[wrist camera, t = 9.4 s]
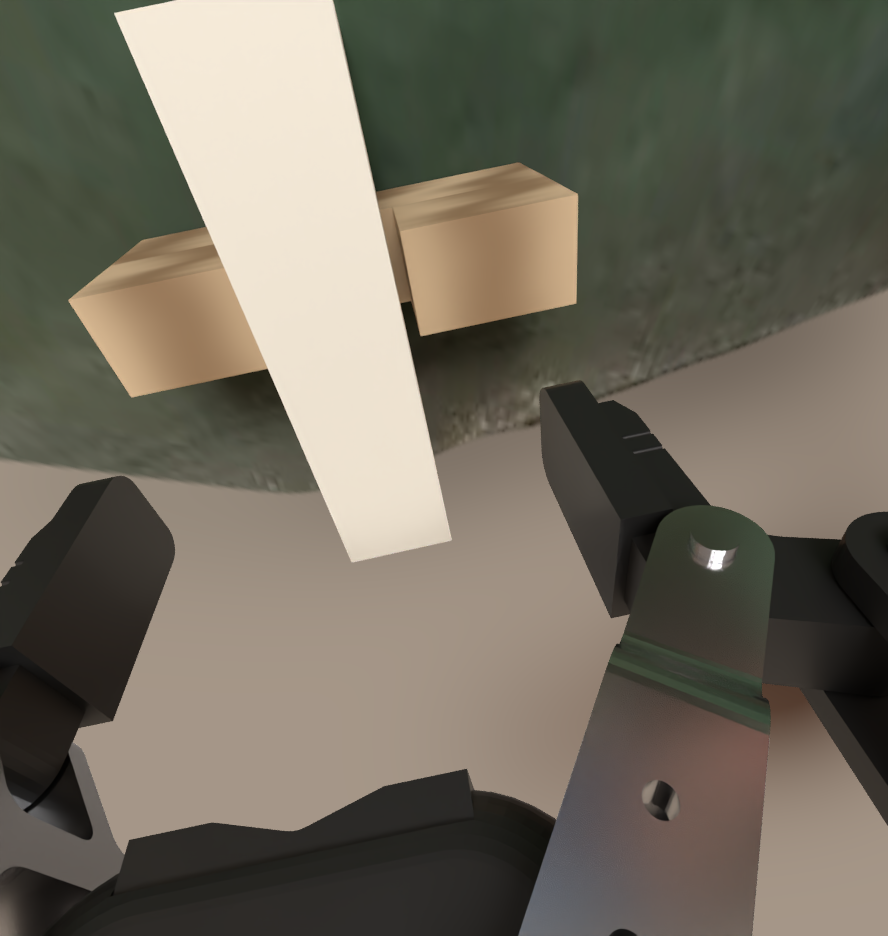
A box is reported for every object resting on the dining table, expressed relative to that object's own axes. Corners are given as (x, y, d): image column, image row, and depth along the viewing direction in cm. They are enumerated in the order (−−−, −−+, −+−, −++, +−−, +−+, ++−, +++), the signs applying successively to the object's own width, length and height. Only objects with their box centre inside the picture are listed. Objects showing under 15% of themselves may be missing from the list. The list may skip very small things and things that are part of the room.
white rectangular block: (240, 44, 17) (113, 13, 8) (338, 24, 17) (326, -31, 8) (351, 388, 26) (351, 562, 17) (416, 374, 26) (451, 540, 17)
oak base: (518, 162, 21) (578, 194, 15) (523, 249, 23) (576, 303, 18) (142, 240, 21) (67, 300, 15) (183, 320, 23) (131, 397, 17)
